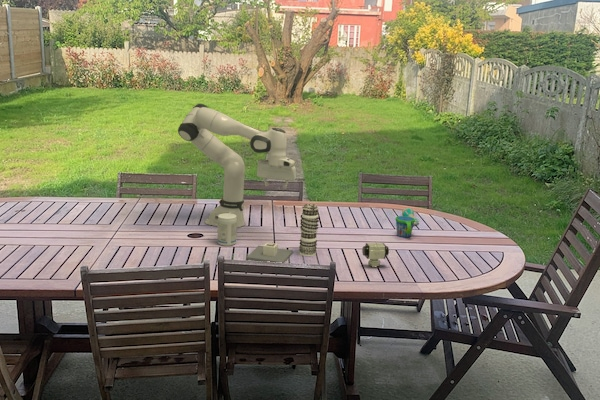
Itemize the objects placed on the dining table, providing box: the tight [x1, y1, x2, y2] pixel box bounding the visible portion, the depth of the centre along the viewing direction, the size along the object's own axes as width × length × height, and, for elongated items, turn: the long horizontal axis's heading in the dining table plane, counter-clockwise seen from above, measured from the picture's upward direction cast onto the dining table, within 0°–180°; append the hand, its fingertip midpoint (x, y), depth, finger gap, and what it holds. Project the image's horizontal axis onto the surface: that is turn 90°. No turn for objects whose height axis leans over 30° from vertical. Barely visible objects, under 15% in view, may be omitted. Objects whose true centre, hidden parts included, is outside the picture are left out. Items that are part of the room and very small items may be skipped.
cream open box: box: [262, 241, 279, 256], centre depth 293 cm, size 6×6×5 cm
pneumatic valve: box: [361, 242, 390, 268], centre depth 286 cm, size 6×12×12 cm, turn 99°
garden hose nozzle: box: [401, 207, 420, 226], centre depth 362 cm, size 7×18×20 cm
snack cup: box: [395, 215, 415, 238], centre depth 336 cm, size 16×10×10 cm
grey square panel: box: [246, 242, 294, 264], centre depth 292 cm, size 18×18×6 cm
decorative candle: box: [298, 203, 320, 257], centre depth 297 cm, size 9×9×25 cm
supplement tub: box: [217, 213, 238, 247], centre depth 306 cm, size 10×10×15 cm
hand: (275, 187), depth 307 cm, fingers open, 8 cm apart
